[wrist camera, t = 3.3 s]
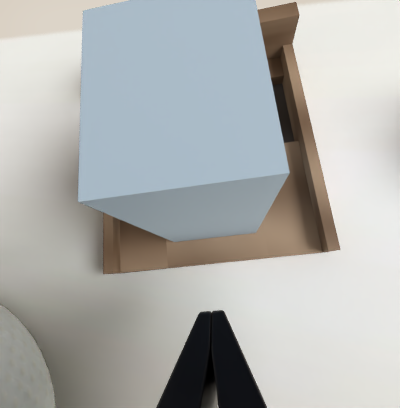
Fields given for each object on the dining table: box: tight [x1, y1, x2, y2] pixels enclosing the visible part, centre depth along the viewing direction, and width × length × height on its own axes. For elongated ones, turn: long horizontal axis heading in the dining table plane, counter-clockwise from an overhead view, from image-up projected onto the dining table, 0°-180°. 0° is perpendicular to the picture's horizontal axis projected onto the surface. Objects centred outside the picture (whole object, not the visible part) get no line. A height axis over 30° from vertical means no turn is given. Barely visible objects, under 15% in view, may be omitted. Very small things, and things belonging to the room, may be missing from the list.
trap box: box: [103, 2, 340, 274], centre depth 16 cm, size 14×13×4 cm
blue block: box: [78, 0, 290, 242], centre depth 11 cm, size 6×5×10 cm
